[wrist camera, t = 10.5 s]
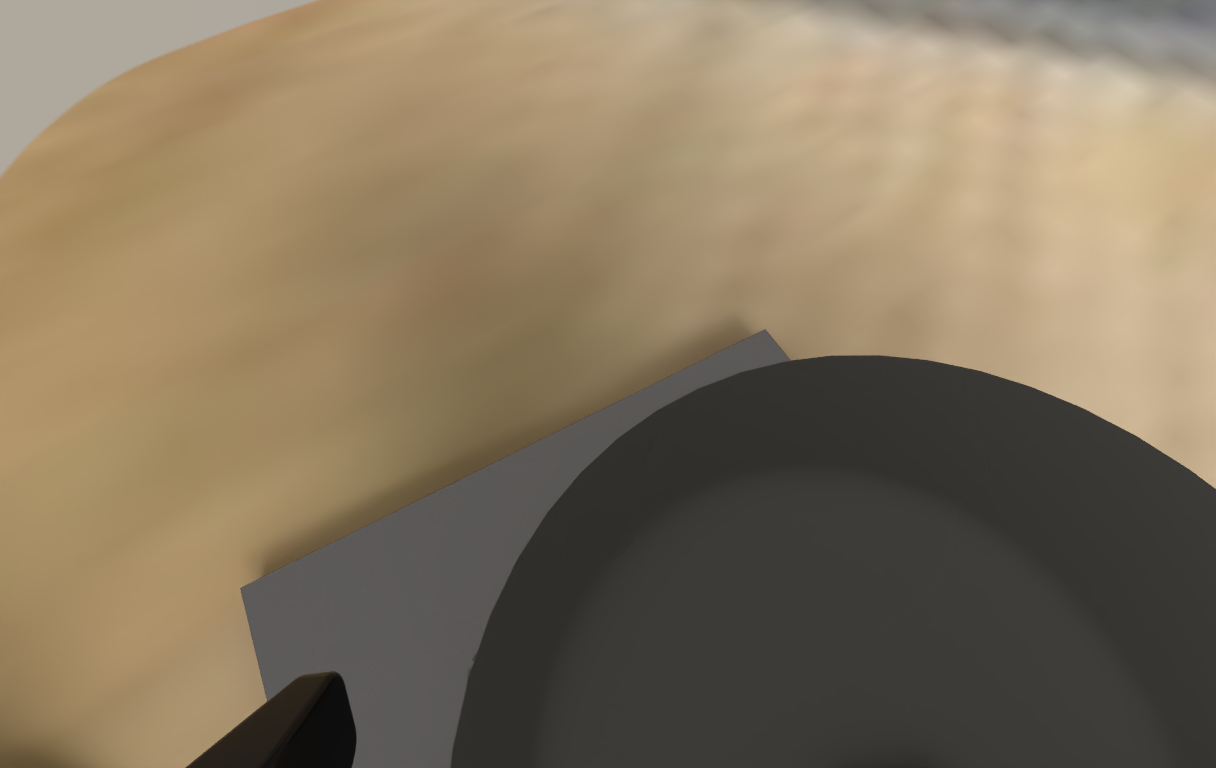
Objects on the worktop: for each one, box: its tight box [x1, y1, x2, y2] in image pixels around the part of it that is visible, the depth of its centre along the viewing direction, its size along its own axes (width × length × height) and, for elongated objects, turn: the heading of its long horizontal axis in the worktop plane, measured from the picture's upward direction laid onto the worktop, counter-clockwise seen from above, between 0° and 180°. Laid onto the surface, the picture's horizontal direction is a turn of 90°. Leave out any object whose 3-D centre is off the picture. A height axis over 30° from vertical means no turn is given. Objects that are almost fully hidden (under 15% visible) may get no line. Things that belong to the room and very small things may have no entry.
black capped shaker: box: [451, 356, 1216, 768], centre depth 8 cm, size 4×4×12 cm
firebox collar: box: [240, 329, 791, 768], centre depth 12 cm, size 16×16×4 cm
